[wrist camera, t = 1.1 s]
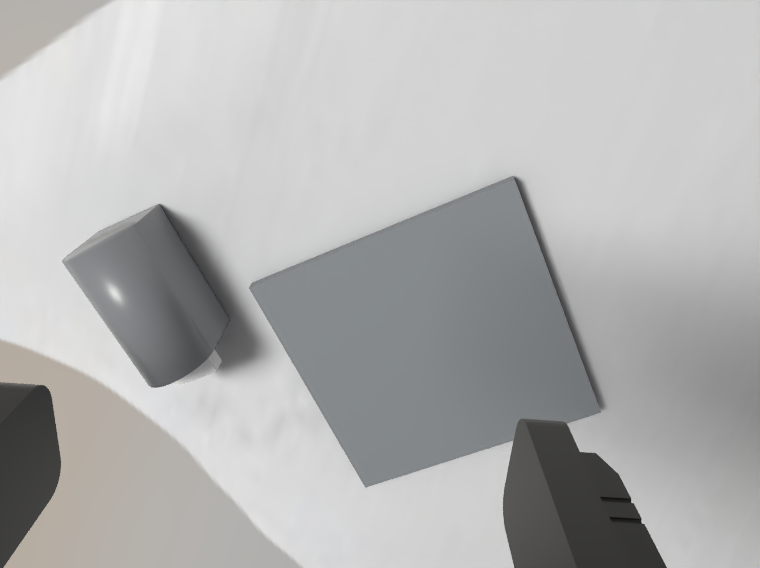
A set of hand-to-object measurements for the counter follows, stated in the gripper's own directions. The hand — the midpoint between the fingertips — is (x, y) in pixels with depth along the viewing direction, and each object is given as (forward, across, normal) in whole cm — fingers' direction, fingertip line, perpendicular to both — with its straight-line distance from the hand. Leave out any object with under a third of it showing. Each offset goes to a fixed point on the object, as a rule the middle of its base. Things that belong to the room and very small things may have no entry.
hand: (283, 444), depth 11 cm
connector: (+21, +9, +6) cm, 24 cm away
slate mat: (+21, -5, +9) cm, 23 cm away
